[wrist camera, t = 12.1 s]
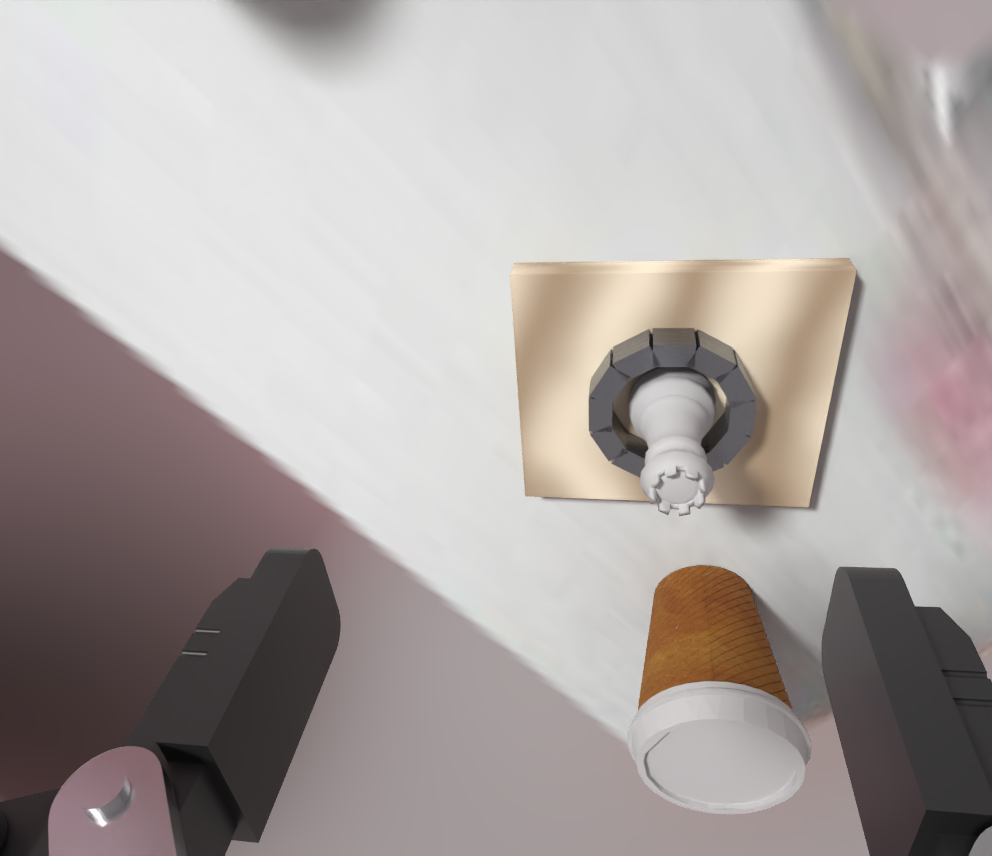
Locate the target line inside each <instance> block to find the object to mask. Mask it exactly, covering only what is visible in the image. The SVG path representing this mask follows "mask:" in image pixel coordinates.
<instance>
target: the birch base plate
mask: <svg viewBox="0 0 992 856" xmlns="http://www.w3.org/2000/svg"><path fill="white" fill-rule="evenodd" d="M856 272H857V270H856V269H855V267H854V265H853V264H852V262H851V261H850V259H849V258H839V259H771V260H702V261H634V262H566V263H514V265H513V268H512V271H511V273H510V282H511V296H512V311H513V325H514V340H515V354H516V368H517V383H518V397H519V412H520V426H521V441H522V455H523V469H524V484H525V496H534V497H560V498H585V499H610V500H635V501H650V499H649V498H648V497H647V496H646V495H645V494H644V493H643V490H642V488H641V485H640V478H639V477H637V476H635V475H633V474H631V473H629V472H627V471H625V470H623V469H621V468H619V467H617V466H615V465H613V464H611V461H608V460H607V458H606V457H605V455H604V454H603V453H602V451H601V450H600V448H599V447H598V445H597V444H596V443H595V441H594V440H593V438H592V437H591V435H590V431H589V389H590V381H591V378H592V376H593V375H594V373H595V372H596V370H597V369H598V367H599V366H600V364H601V363H602V361H603V360H604V358H605V357H606V355H607V354H608V352H609V351H610V349H612V350H613V347H614V346H616V345H618V344H620V343H622V342H624V341H626V340H628V339H630V338H632V337H634V336H636V335H638V334H640V333H642V332H644V331H646V330H648V329H649V330H650V332H651V333H652V330H653V328H694V332H696V331H697V329H699V330H701V331H703V332H705V333H706V334H708V335H710V336H712V337H714V338H716V339H718V340H720V341H722V342H723V343H725V344H727V345H729V346H731V347H732V349H733V350H735V351H736V353H737V355H738V356H739V358H740V360H741V362H742V363H743V365H744V367H745V369H746V371H747V372H748V374H749V376H750V378H751V380H752V383H753V387H754V391H755V395H756V400H757V405H756V412H755V420H754V427H753V434H752V435H750V437H751V439H750V440H749V441H748V442H747V443H746V444H745V446H744V447H743V448H742V449H741V450H740V451H739V452H738V453H737V455H736V456H735V457H734V458H733V459H732V460H731V461H730V462H729V464H728V465H726V464H724V467H723V468H721V469H718V470H716V471H713V474H714V478H715V480H714V485H713V489H712V491H711V492H710V493H709V495H708V496H707V497H706V498H705V500H706V502H705V503H711V504H736V505H762V506H787V507H809V503H810V498H811V493H812V488H813V483H814V478H815V473H816V468H817V463H818V458H819V454H820V449H821V444H822V439H823V434H824V429H825V424H826V419H827V414H828V409H829V404H830V400H831V395H832V390H833V385H834V380H835V375H836V370H837V365H838V360H839V355H840V350H841V345H842V341H843V336H844V331H845V326H846V321H847V316H848V311H849V306H850V301H851V296H852V291H853V287H854V282H855V277H856ZM657 368H661V367H655V368H653V369H651V370H654V369H657ZM687 368H690V369H692V370H694V369H693V368H691V367H687ZM651 370H649V371H647V372H645V373H643V374H641V375H639V376H636V377H634V378H632V379H630V380H628V382H627V383H626V384H625V386H624V387H623V389H622V390H621V392H620V393H619V394H618V396H617V397H616V399H615V400H614V401H613V411H614V412H615V414H616V415H617V417H618V418H619V420H620V421H621V423H622V424H623V426H624V427H625V429H626V430H627V431H628V432H630V433H632V434H634V435H636V436H638V437H640V436H639V435H638V434H637V432H636V431H635V430H634V427H633V425H632V422H631V419H630V416H629V412H630V411H629V408H628V402H629V394H630V391H631V389H632V388H633V386H634V385H635V383H636V382H637V380H638V379H639V378H641V377H642V376H644V375H645V374H647V373H648V372H650V371H651ZM694 371H696V370H694ZM696 372H698V371H696ZM698 373H700V372H698ZM700 374H702V373H700ZM702 375H703V376H704V377H705V378H706V380H707V381H708V382H709V383H710V384H711V385H712V387H713V391H714V394H715V398H716V402H715V407H716V411H715V416H714V421H713V424H712V426H713V425H714V424H715V423H716V422H717V420H718V419H719V418H720V417H721V416H722V414H723V413H724V412H725V404H726V396H725V394H724V392H723V390H722V389H721V387H720V385H719V384H718V382H717V381H716V380H714V379H712V378H710V377H708V376H706V375H704V374H702ZM711 428H712V427H711ZM711 428H710V429H711ZM710 429H709V430H710ZM640 438H641V437H640Z"/></svg>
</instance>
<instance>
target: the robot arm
mask: <svg viewBox="0 0 992 856" xmlns="http://www.w3.org/2000/svg"><path fill="white" fill-rule="evenodd" d="M339 636H340V614H339V610H338V606H337V603H336V600H335V597H334V594H333V591H332V587H331V584H330V581H329V578H328V574H327V571H326V568H325V565H324V562H323V558H322V556H321V554H320V552H319V551H318V550H316V549H304V548H270V549H269V550H268V551H267V552H266V553H265V554H264V556H263V558H262V559H261V561H260V563H259V564H258V566H257V568H256V570H255V571H254V573H253V575H252V577H251V578H250V579H247V578H238V579H237V580H236V581H235V582H233V583H232V584H231V585H230V586H229V587H228V588H227V589H226V590H224V591H223V592H222V593H221V594H220V595H219V596H218V597H217V598H215V599H214V600H213V601H212V603H211V604H210V606H209V608H208V609H207V611H206V612H205V614H204V616H203V617H202V619H201V620H200V622H199V624H198V626H197V627H196V633H195V634H194V633H193V634H192V635H191V637H190V638H189V640H188V642H187V643H186V645H185V647H184V648H183V650H182V651H183V653H182V656H178V658H177V660H176V661H175V663H174V664H173V666H172V668H171V669H170V671H169V673H168V674H167V676H166V677H165V679H164V681H163V682H162V684H161V686H160V687H159V689H158V690H157V692H156V694H155V695H154V697H153V699H152V700H151V702H150V703H149V705H148V707H147V709H146V710H145V711H144V713H143V715H142V716H141V718H140V720H139V721H138V723H137V725H136V726H135V728H134V729H133V731H132V733H131V734H130V736H129V737H128V739H127V740H126V742H125V743H124V745H123V746H122V747H120V748H116V749H113V750H110V751H107V752H105V753H102V754H100V755H98V756H96V757H95V758H93V759H91V760H90V761H88V762H87V763H85V764H84V765H83V766H81V767H80V768H79V769H78V770H77V771H75V772H74V774H73V775H72V776H71V777H70V778H69V779H68V780H67V781H66V782H65V784H64V785H63V786H62V787H61V788H58V789H54V790H50V791H46V792H41V793H38V794H33V795H29V796H25V797H20V798H16V799H12V800H8V801H3V802H0V856H225V853H226V851H227V849H228V846H229V844H230V842H231V840H239V841H247V842H257V843H258V842H259V840H260V838H261V835H262V832H263V830H264V828H265V825H266V823H267V820H268V818H269V815H270V813H271V810H272V808H273V806H274V803H275V800H276V798H277V795H278V793H279V791H280V788H281V786H282V783H283V781H284V778H285V776H286V773H287V771H288V768H289V766H290V763H291V761H292V758H293V756H294V754H295V751H296V748H297V746H298V743H299V741H300V739H301V736H302V734H303V731H304V729H305V726H306V724H307V721H308V719H309V716H310V714H311V711H312V709H313V706H314V704H315V701H316V699H317V696H318V694H319V692H320V689H321V686H322V684H323V682H324V679H325V677H326V674H327V672H328V669H329V667H330V664H331V662H332V659H333V657H334V654H335V652H336V649H337V646H338V642H339ZM822 666H823V673H824V678H825V683H826V687H827V691H828V694H829V698H830V702H831V706H832V710H833V714H834V718H835V722H836V725H837V729H838V733H839V737H840V741H841V745H842V749H843V753H844V757H845V761H846V765H847V768H848V772H849V775H850V780H851V784H852V788H853V792H854V796H855V799H856V804H857V807H858V811H859V815H860V819H861V823H862V827H863V831H864V835H865V839H866V842H867V846H868V850H869V854H870V856H992V682H991V680H990V679H988V678H987V675H986V674H987V671H986V670H985V667H984V665H983V663H982V661H981V659H980V657H979V655H978V652H977V650H976V648H975V646H974V644H973V642H972V640H971V638H970V637H969V636H968V635H967V634H966V633H965V632H964V631H963V630H962V629H961V628H960V627H959V626H958V625H957V624H956V623H955V622H954V621H953V620H952V619H951V618H950V617H949V616H948V615H947V614H946V613H945V612H944V611H943V610H942V609H941V608H940V607H916V606H914V604H913V601H912V599H911V596H910V594H909V591H908V589H907V587H906V584H905V582H904V579H903V577H902V575H901V574H900V572H899V571H898V570H897V569H895V568H865V567H839V568H838V570H837V572H836V575H835V579H834V584H833V589H832V593H831V598H830V603H829V608H828V612H827V617H826V622H825V627H824V631H823V637H822Z"/></svg>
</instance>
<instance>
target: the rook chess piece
mask: <svg viewBox="0 0 992 856" xmlns="http://www.w3.org/2000/svg"><path fill="white" fill-rule="evenodd" d="M715 402H716V398H715V394H714V391H713V387H712V385H711V384H710V383H709V382H708V381H707V380H706V378H705V377H704V376H703V375H702V374H700V373H698V372H696V371H694V370H692V369H690V368H687V367H661V368H657V369H654V370H651V371H650V372H648V373H647V374H645V375H644V376H642V377H641V378H639V379H638V380H637V382H636V383H635V385H634V386H633V388H632V389H631V391H630V394H629V402H628V408H629V411H630V412H629V416H630V419H631V422H632V425H633V427H634V430H635V431H636V432H637V434H638V435H639V436H640V437H641V438H642V439H643V440H644V441H645V442H647V445H648V451H647V452H646V455H645V467H644V468H643V470H642V471H641V476H640V485H641V488H642V490H643V493H644V494H645V495H646V496H647V497H648V498H649V499H650V501H651V504H652V503H656V504H658V511H660V512H662V513H665V514H667V515H668V514H669V512H670V509H679V516H683V515H688V514H690V507H692V506H694V505H695V506H696V507H697V508H699V509H700V508H701V507H702V505H703V504H704V503H705V502H706V500H705V498H706V497H707V496H708V495H709V493H710V492H711V491H712V489H713V485H714V480H715V478H714V474H713V471H712V468H711V466H710V465H709V464H708V463H707V462H706V461H707V457H706V454H705V451H704V449H703V448H702V447H701V440H702V438H703V437H704V436H705V435H706V433H707V432H708V431H709V429H710V428H711V427H712V424H713V421H714V416H715V411H716V407H715Z"/></svg>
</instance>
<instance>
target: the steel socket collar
mask: <svg viewBox="0 0 992 856" xmlns="http://www.w3.org/2000/svg"><path fill="white" fill-rule="evenodd" d="M655 367H691V368H693V369H694V370H696V371H698V372H700V373H702V374H704V375H706V376H708V377H710V378H712V379H714V380H716V381H717V382H718V384H719V385H720V387H721V389H722V390H723V392H724V394H725V396H726V404H725V412H724V413H723V414H722V416H721V417H720V418H719V419H718V420H717V422H716V423H715V424H714V425H713V426H712V428H711V429H710V430H709V431H708V432H707V433H706V435H705V436H704V437H703V438H702V440H701V447H702V448H703V449H704V451H705V454H706V457H707V461H706V462H707V463H708V464H709V465H710V466H711V468H712V471H716V470H718V469H721V468H723V467H724V464H726V465H728V464H729V462H730V461H731V460H732V459H733V458H734V457H735V456H736V455H737V453H738V452H739V451H740V450H741V449H742V448H743V447H744V446H745V444H746V443H747V442H748V441H749V440H750V439H751V437H750V435H752V434H753V427H754V420H755V412H756V405H757V400H756V395H755V391H754V387H753V383H752V380H751V378H750V376H749V374H748V372H747V371H746V369H745V367H744V365H743V363H742V362H741V360H740V358H739V356H738V355H737V353H736V351H735V350H733V349H732V347H731V346H729V345H727V344H725V343H723V342H722V341H720V340H718V339H716V338H714V337H712V336H710V335H708V334H706V333H705V332H703V331H701V330H699V329H697V331H696V332H694V328H653V330H652V333H651V332H650V330H649V329H648V330H646V331H644V332H642V333H640V334H638V335H636V336H634V337H632V338H630V339H628V340H626V341H624V342H622V343H620V344H618V345H616V346H614V347H613V350H612V349H610V351H609V352H608V354H607V355H606V357H605V358H604V360H603V361H602V363H601V364H600V366H599V367H598V369H597V370H596V372H595V373H594V375H593V376H592V378H591V381H590V389H589V431H590V435H591V437H592V438H593V440H594V441H595V443H596V444H597V445H598V447H599V448H600V450H601V451H602V453H603V454H604V455H605V457H606V458H607V460H608V461H611V464H613V465H615V466H617V467H619V468H621V469H623V470H625V471H627V472H629V473H631V474H633V475H635V476H637V477H639V478H640V476H641V471H642V470H643V468H644V467H645V455H646V452H647V451H648V445H647V442H645V441H644V440H643V439H642V438H640V437H638V436H636V435H634V434H632V433H630V432H628V431H627V430H626V429H625V427H624V426H623V424H622V423H621V421H620V420H619V418H618V417H617V415H616V414H615V412H614V411H613V401H614V400H615V399H616V397H617V396H618V394H619V393H620V392H621V390H622V389H623V387H624V386H625V384H626V383H627V382H628V380H630V379H632V378H634V377H636V376H639V375H641V374H643V373H645V372H647V371H649V370H651V369H653V368H655Z"/></svg>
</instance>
